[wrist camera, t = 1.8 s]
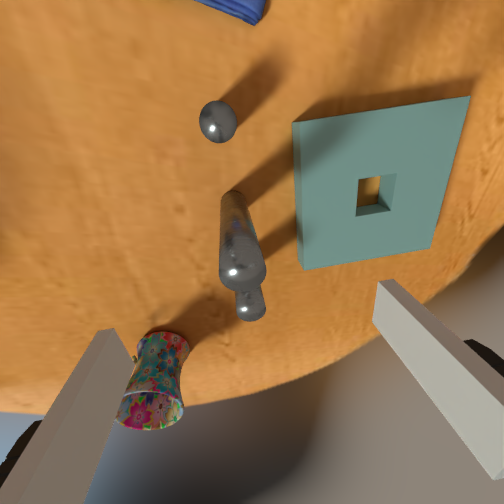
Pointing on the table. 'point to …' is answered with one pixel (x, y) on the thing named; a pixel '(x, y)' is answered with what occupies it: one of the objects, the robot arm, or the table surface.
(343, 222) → the hole block
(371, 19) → the table surface
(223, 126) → the short pin
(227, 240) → the long pin
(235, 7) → the dish towel
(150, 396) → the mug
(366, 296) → the table surface
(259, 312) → the medium pin
